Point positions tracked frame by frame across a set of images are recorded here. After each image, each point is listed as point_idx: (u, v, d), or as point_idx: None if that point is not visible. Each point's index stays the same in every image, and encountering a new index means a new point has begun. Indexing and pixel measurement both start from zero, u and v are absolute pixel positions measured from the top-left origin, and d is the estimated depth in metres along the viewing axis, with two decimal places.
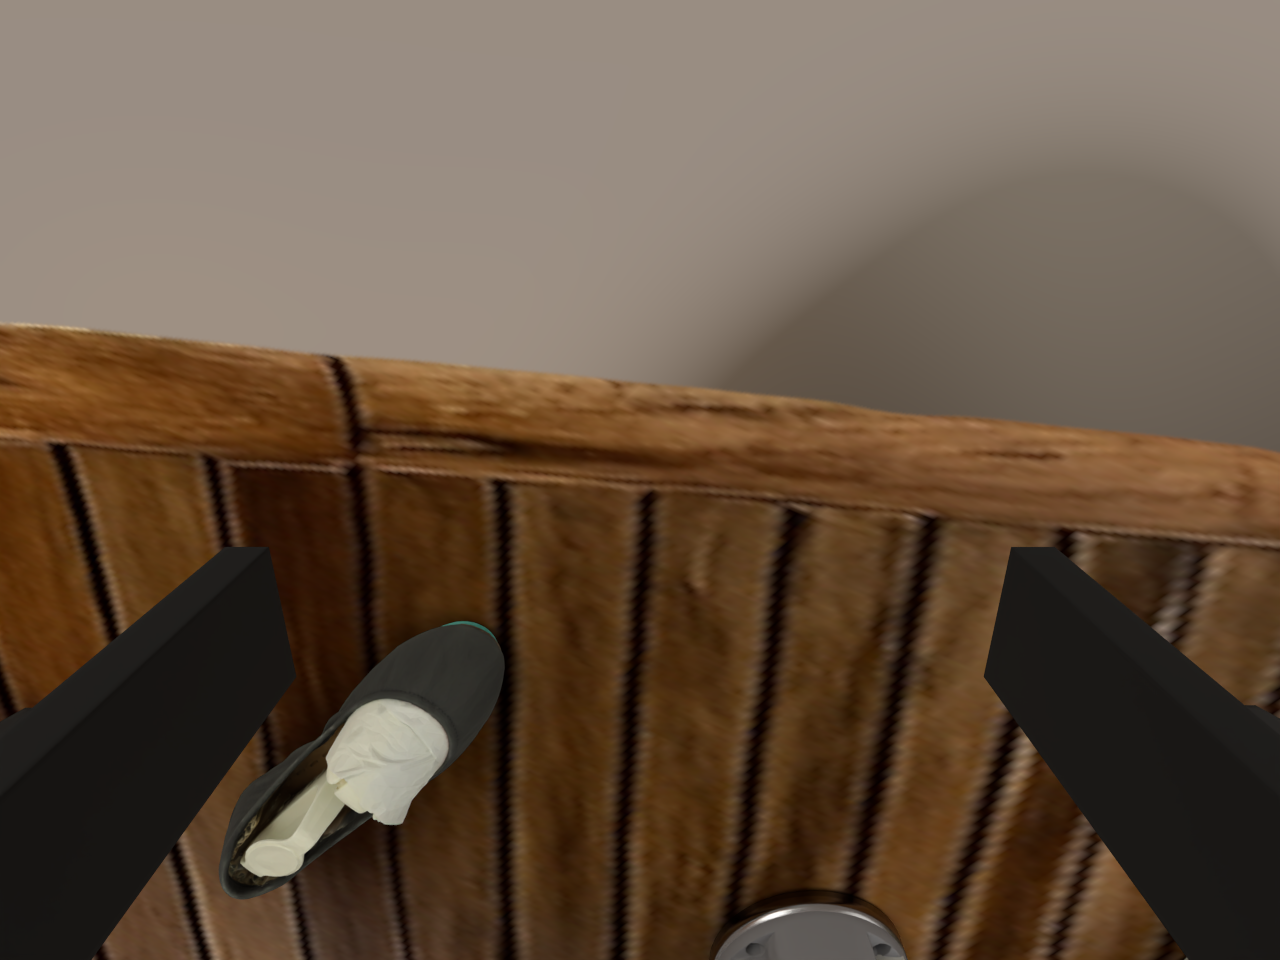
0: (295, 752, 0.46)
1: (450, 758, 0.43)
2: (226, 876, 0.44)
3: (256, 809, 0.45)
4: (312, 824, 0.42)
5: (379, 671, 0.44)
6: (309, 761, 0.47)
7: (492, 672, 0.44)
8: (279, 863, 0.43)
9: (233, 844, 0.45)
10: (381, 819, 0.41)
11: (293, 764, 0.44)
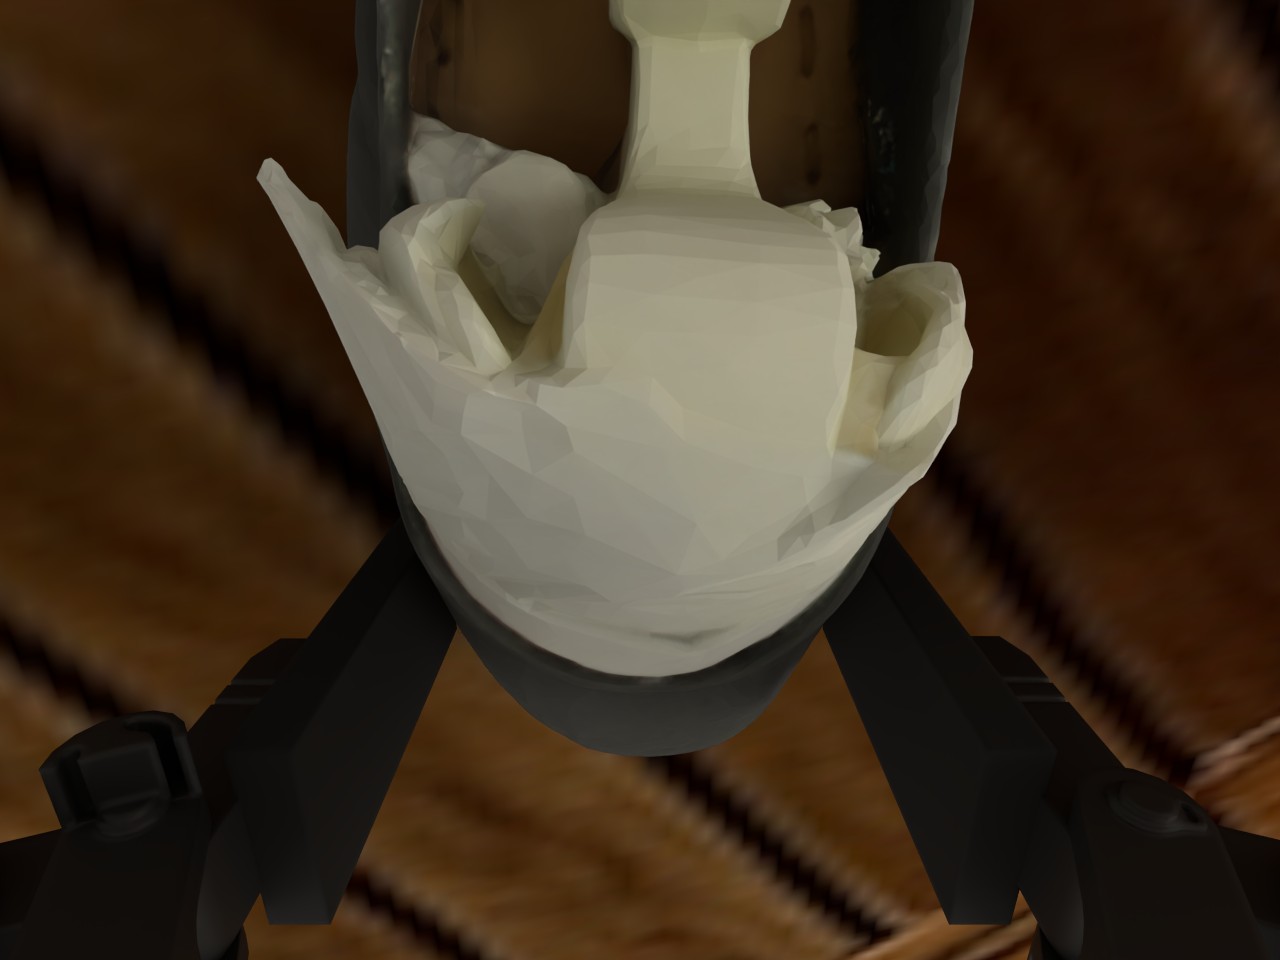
0: None
1: (419, 552, 0.09)
2: None
3: None
4: None
5: None
6: None
7: (565, 734, 0.13)
8: None
9: None
10: (424, 366, 0.05)
11: None
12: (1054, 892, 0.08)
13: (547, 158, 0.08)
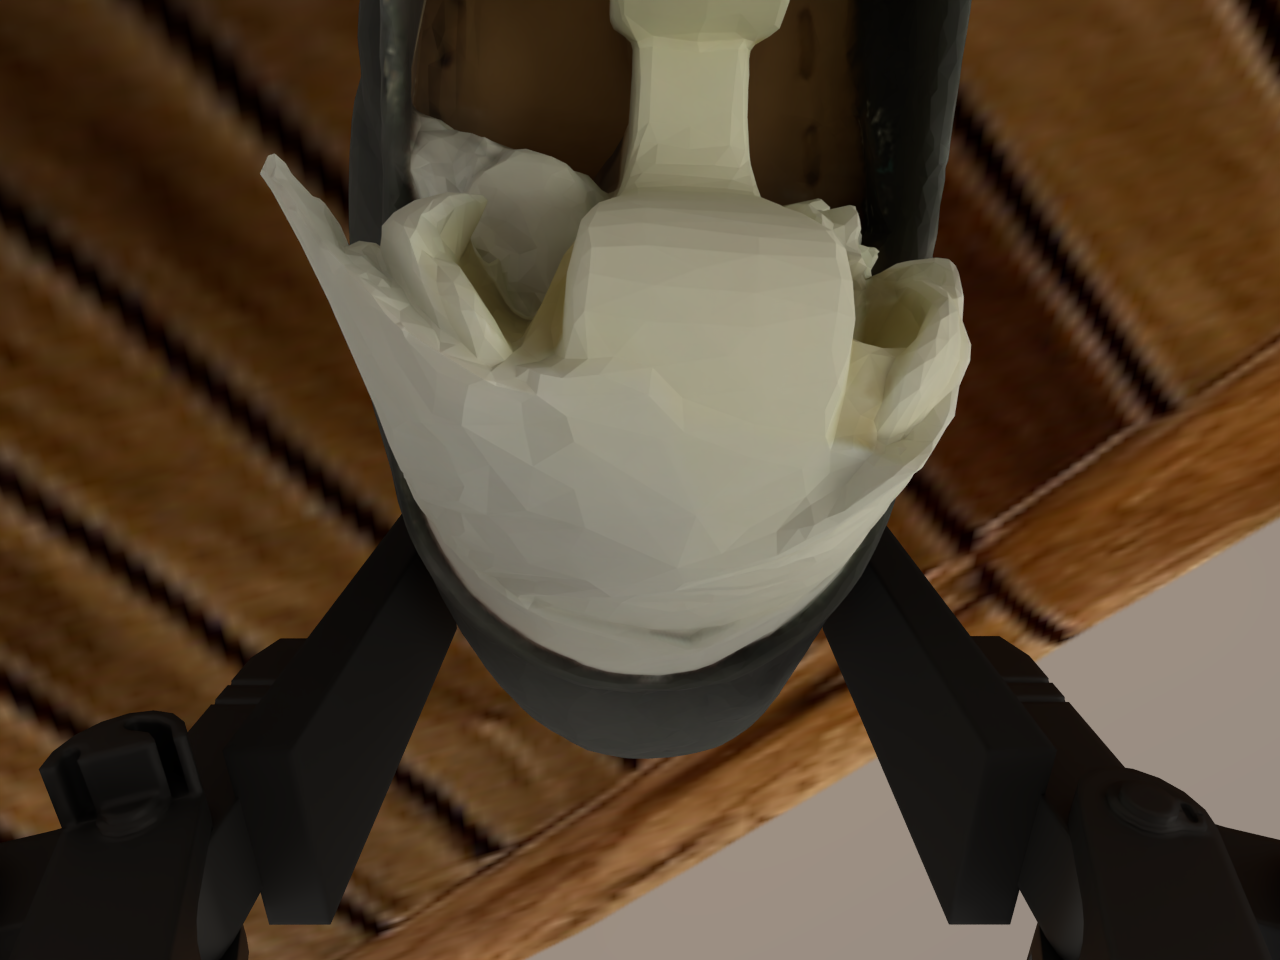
0: None
1: (419, 550, 0.09)
2: None
3: None
4: None
5: None
6: None
7: (565, 735, 0.13)
8: None
9: None
10: (425, 357, 0.05)
11: None
12: (1054, 892, 0.08)
13: (548, 157, 0.08)
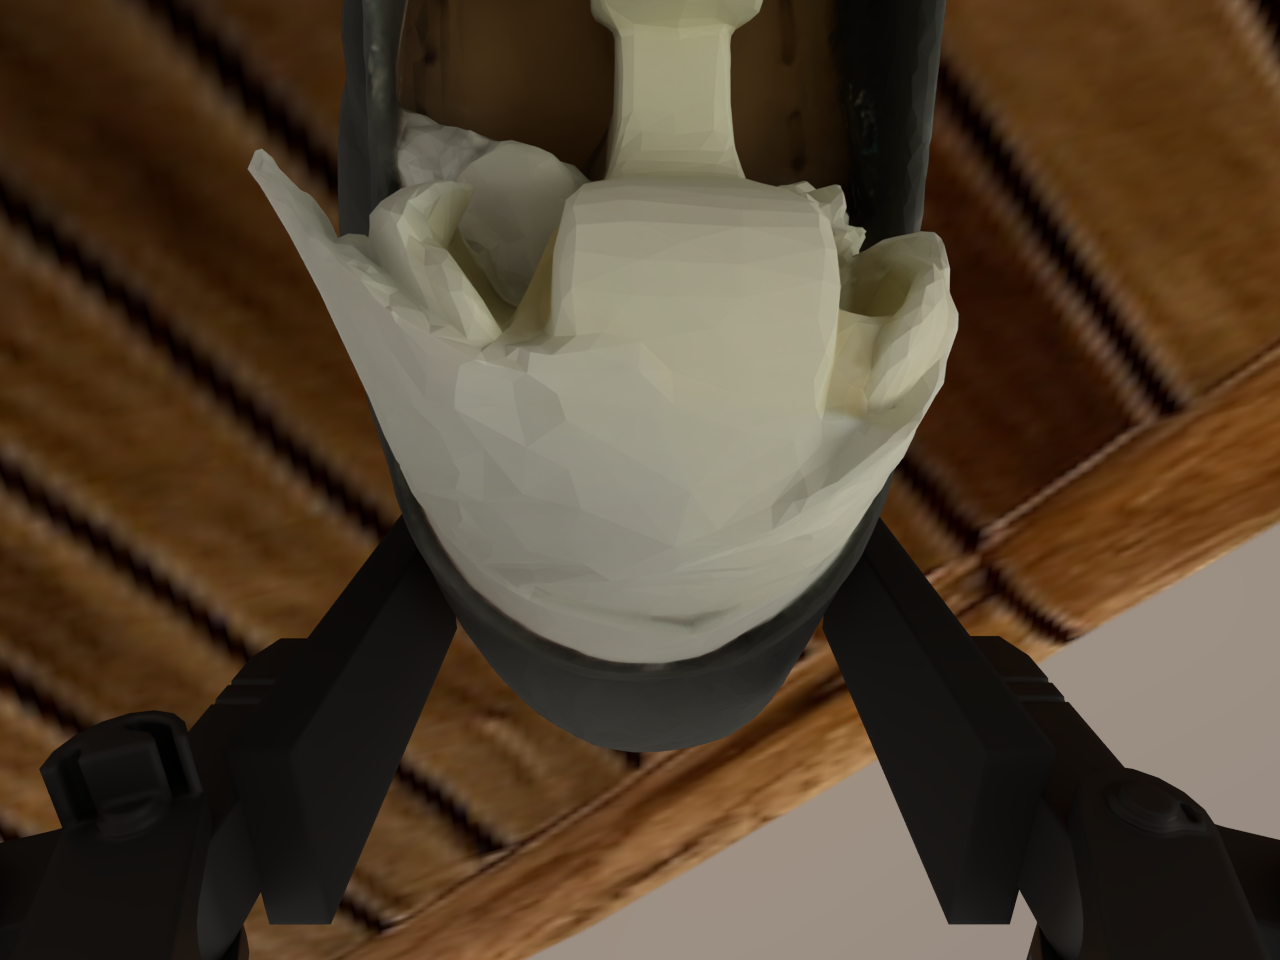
0: None
1: (419, 545, 0.09)
2: None
3: None
4: None
5: None
6: None
7: (571, 730, 0.13)
8: None
9: None
10: (415, 339, 0.05)
11: None
12: (1053, 892, 0.08)
13: (534, 147, 0.08)
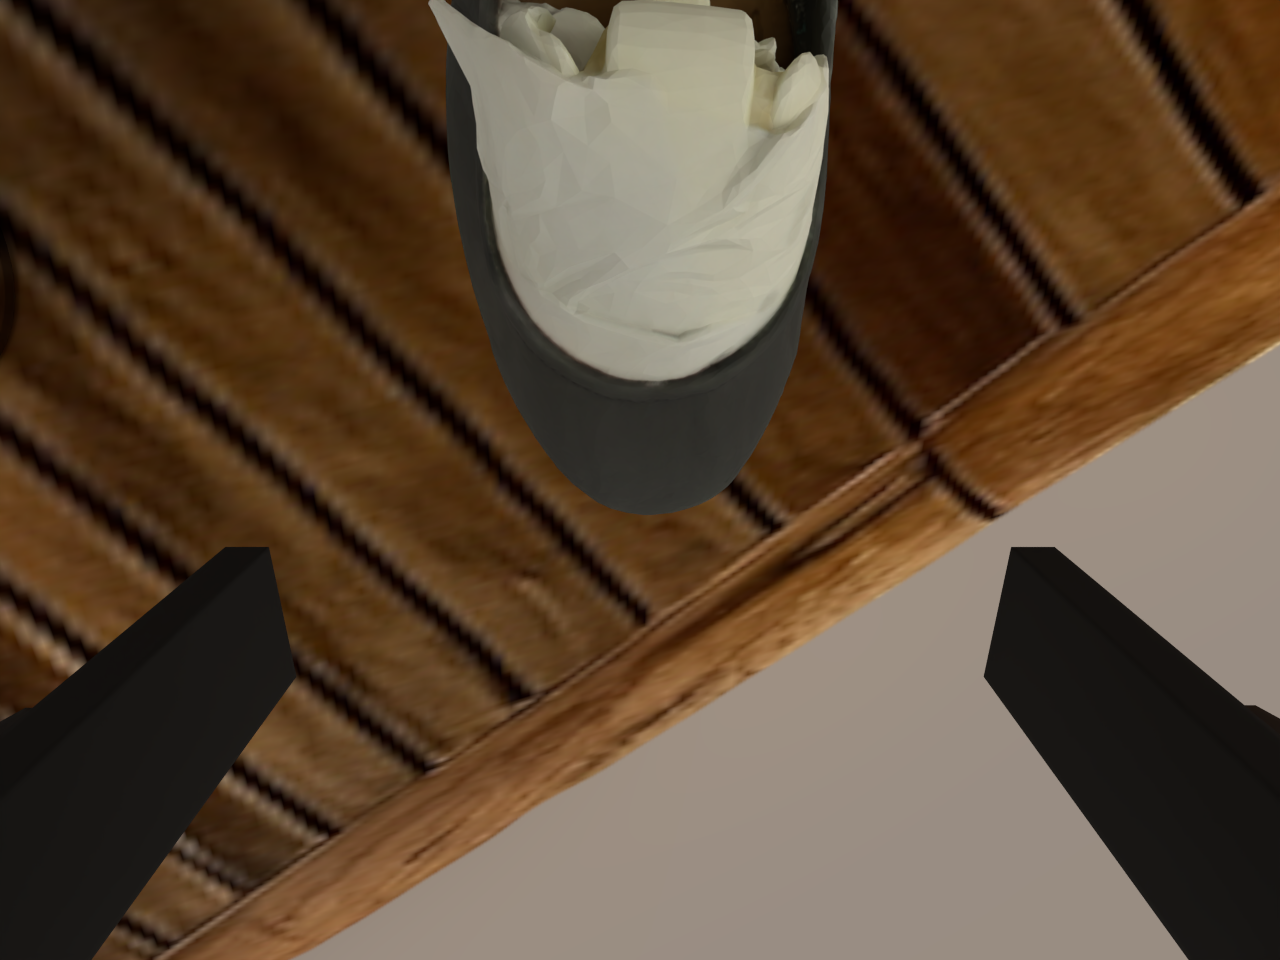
0: None
1: (499, 290, 0.14)
2: None
3: None
4: None
5: (804, 293, 0.16)
6: None
7: (590, 483, 0.18)
8: None
9: None
10: (535, 72, 0.10)
11: None
12: None
13: (585, 13, 0.13)
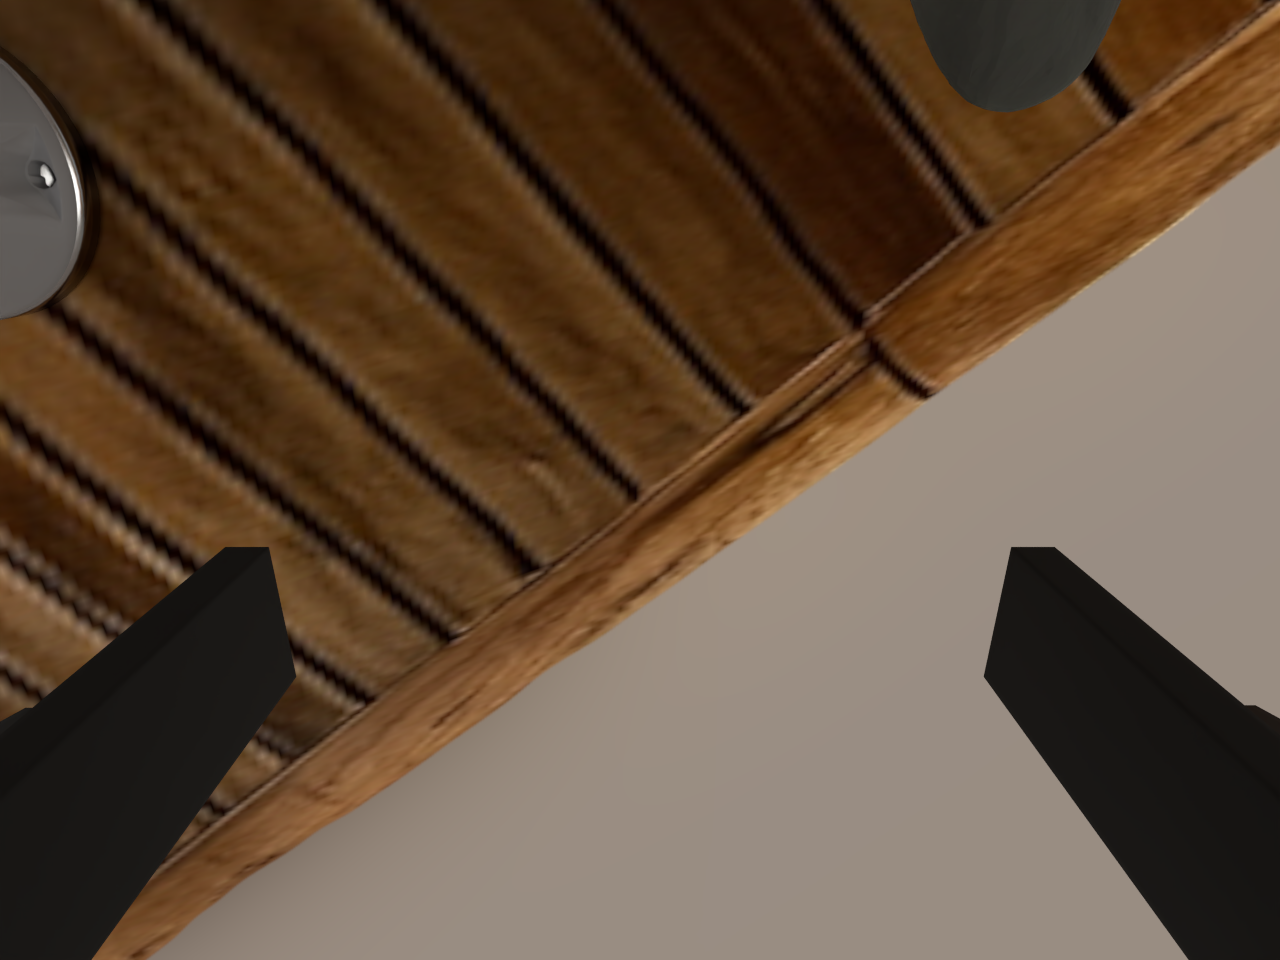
0: None
1: None
2: None
3: None
4: None
5: None
6: None
7: (983, 71, 0.22)
8: None
9: None
10: None
11: None
12: None
13: None
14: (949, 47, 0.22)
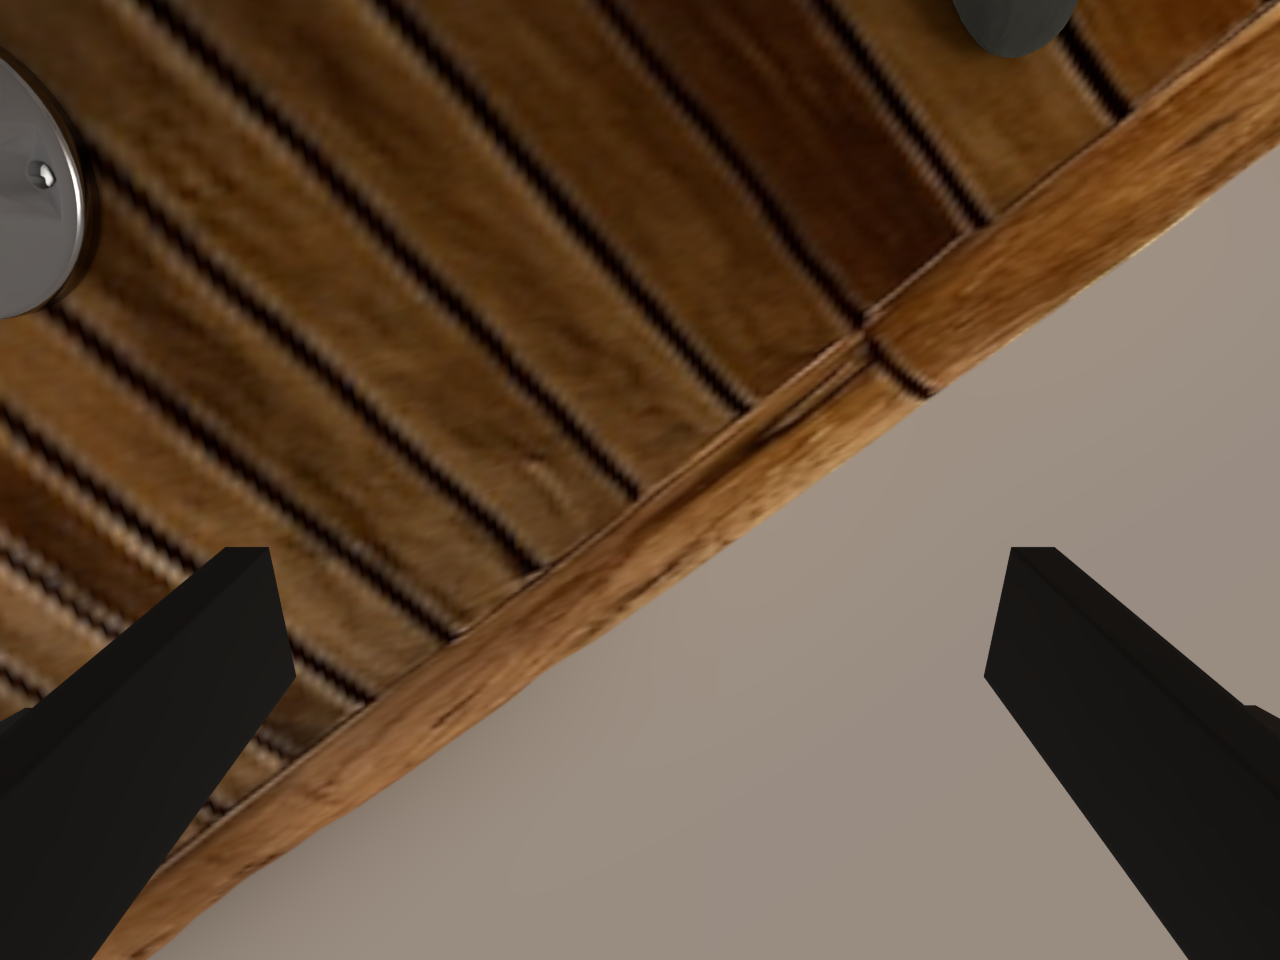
0: None
1: None
2: None
3: None
4: None
5: None
6: None
7: (998, 32, 0.35)
8: None
9: None
10: None
11: None
12: None
13: None
14: (975, 19, 0.35)
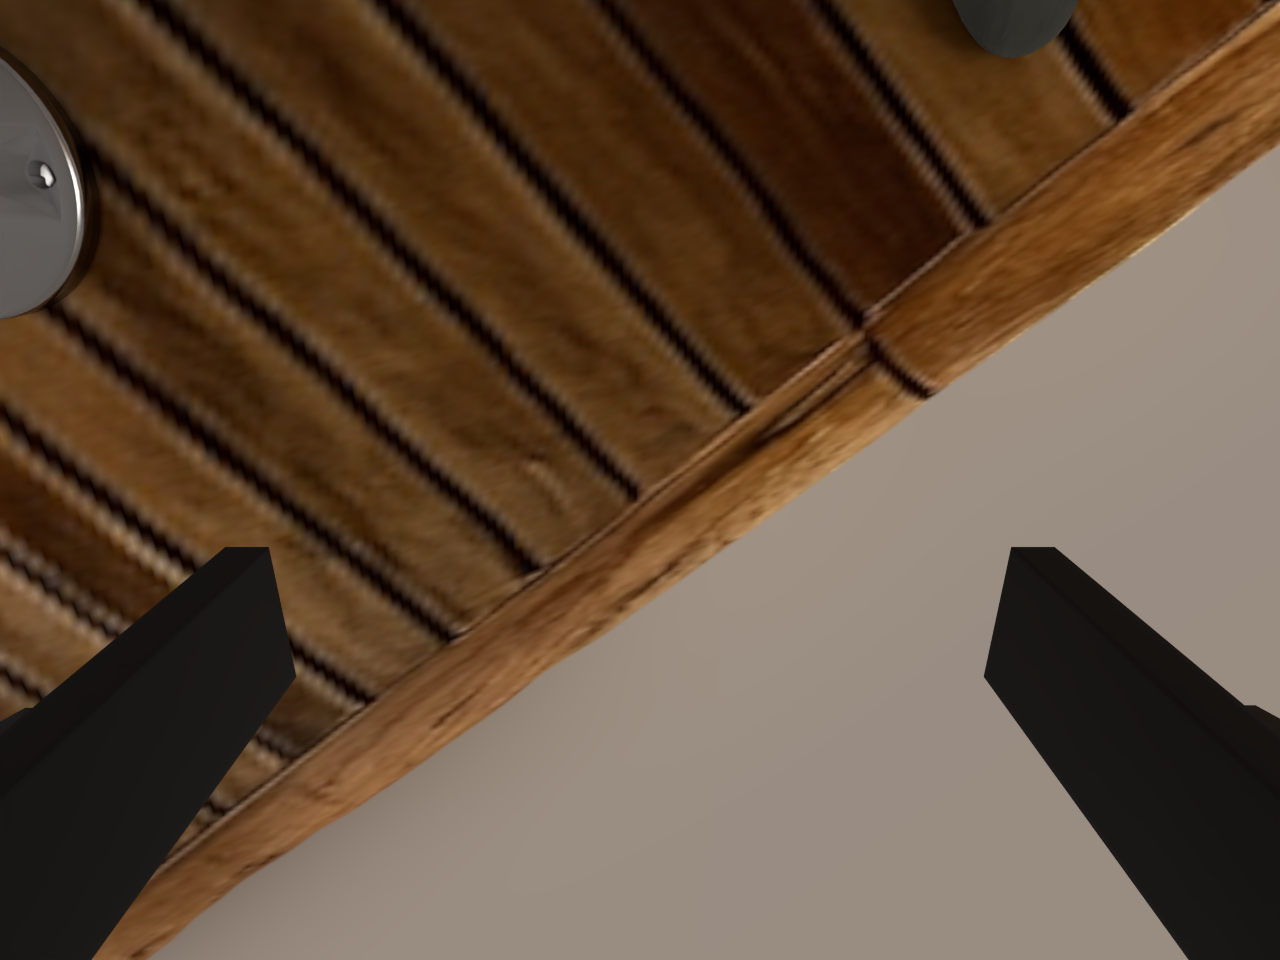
0: None
1: None
2: None
3: None
4: None
5: None
6: None
7: (998, 32, 0.35)
8: None
9: None
10: None
11: None
12: None
13: None
14: (975, 19, 0.35)
